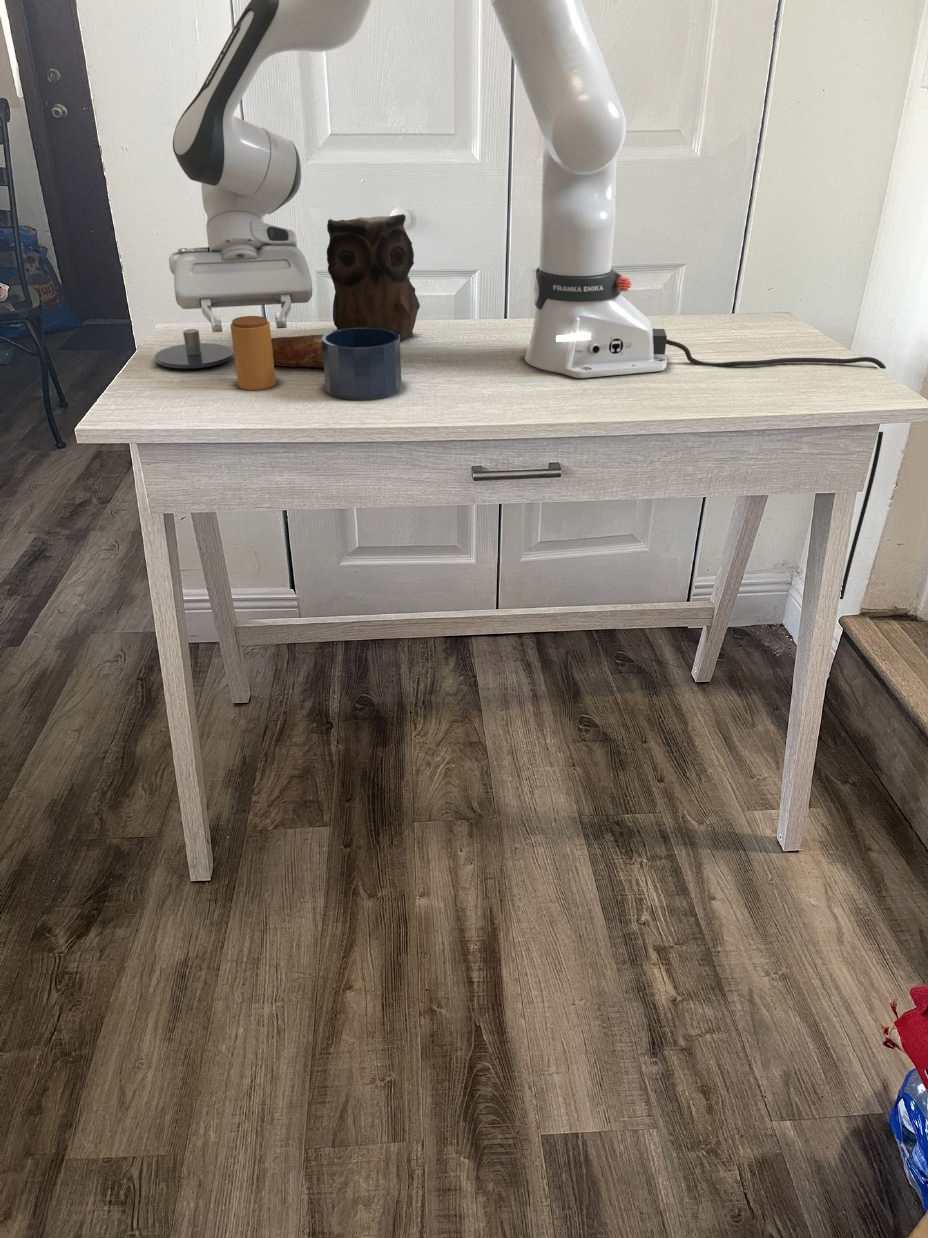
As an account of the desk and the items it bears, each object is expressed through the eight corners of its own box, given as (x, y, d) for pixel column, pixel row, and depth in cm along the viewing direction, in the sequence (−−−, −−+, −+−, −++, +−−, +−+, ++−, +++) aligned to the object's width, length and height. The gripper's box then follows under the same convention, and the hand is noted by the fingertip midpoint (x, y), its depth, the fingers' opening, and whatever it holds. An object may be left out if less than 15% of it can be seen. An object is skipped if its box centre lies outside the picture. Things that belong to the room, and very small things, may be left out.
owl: (423, 335, 165) (420, 212, 154) (380, 353, 156) (375, 223, 145) (364, 325, 170) (358, 206, 160) (320, 342, 161) (310, 216, 151)
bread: (361, 374, 146) (359, 338, 143) (244, 368, 149) (239, 332, 146) (371, 362, 151) (369, 327, 148) (258, 356, 154) (254, 322, 151)
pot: (400, 375, 146) (398, 326, 142) (402, 399, 136) (400, 347, 132) (327, 377, 145) (323, 327, 141) (324, 401, 135) (320, 348, 131)
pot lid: (238, 349, 158) (234, 319, 155) (228, 371, 147) (224, 340, 145) (163, 350, 157) (158, 321, 154) (149, 373, 146) (143, 342, 144)
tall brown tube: (277, 378, 144) (270, 314, 139) (274, 389, 140) (267, 324, 135) (240, 378, 144) (232, 315, 139) (235, 390, 139) (227, 325, 134)
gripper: (164, 236, 138) (174, 320, 135) (305, 230, 142) (318, 312, 139) (170, 262, 144) (179, 343, 141) (304, 256, 148) (316, 335, 145)
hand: (249, 328), depth 140 cm, fingers open, 8 cm apart
